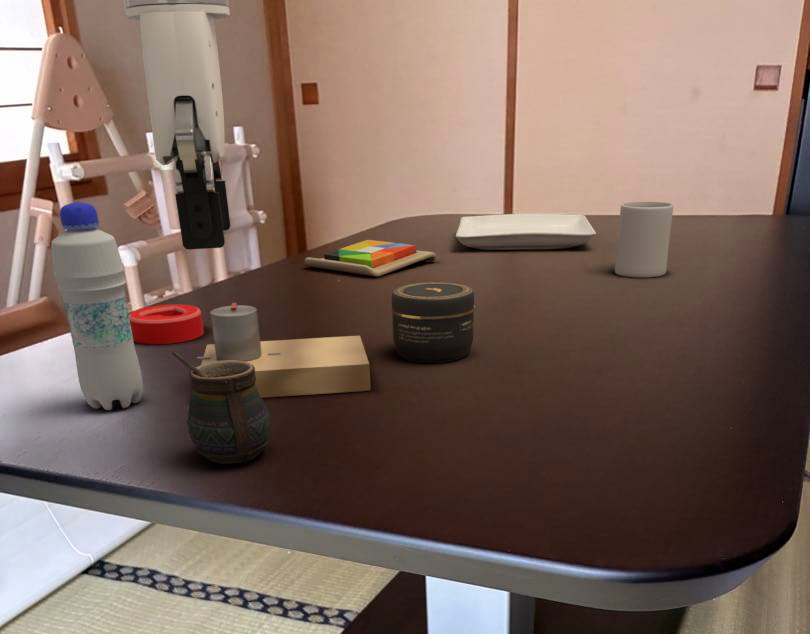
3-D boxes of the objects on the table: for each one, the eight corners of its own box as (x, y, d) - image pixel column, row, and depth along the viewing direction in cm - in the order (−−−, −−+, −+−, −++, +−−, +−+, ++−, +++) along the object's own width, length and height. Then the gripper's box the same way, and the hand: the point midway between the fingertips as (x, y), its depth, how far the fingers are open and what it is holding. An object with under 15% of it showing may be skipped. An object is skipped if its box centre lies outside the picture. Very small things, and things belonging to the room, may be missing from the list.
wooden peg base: (196, 402, 89) (191, 373, 87) (205, 369, 99) (201, 343, 98) (370, 390, 91) (369, 362, 89) (361, 360, 101) (360, 334, 100)
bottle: (128, 389, 93) (92, 196, 84) (159, 402, 89) (124, 200, 80) (71, 404, 89) (26, 203, 80) (101, 418, 85) (56, 208, 75)
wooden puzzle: (302, 269, 155) (300, 249, 153) (371, 254, 167) (370, 235, 166) (371, 279, 145) (370, 258, 143) (439, 262, 157) (439, 242, 156)
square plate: (460, 232, 189) (461, 214, 188) (583, 231, 187) (584, 212, 185) (455, 253, 166) (455, 232, 164) (595, 251, 163) (597, 230, 161)
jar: (418, 339, 109) (417, 278, 105) (487, 347, 104) (489, 285, 101) (377, 358, 101) (374, 294, 98) (450, 369, 97) (450, 302, 93)
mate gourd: (287, 459, 74) (276, 348, 69) (204, 479, 71) (187, 363, 66) (256, 435, 80) (244, 330, 75) (178, 452, 76) (160, 343, 72)
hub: (261, 360, 91) (256, 311, 89) (214, 363, 91) (208, 314, 88) (262, 348, 95) (257, 301, 93) (217, 351, 95) (211, 303, 92)
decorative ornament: (203, 324, 119) (200, 301, 118) (204, 340, 111) (201, 316, 110) (133, 329, 118) (129, 306, 116) (129, 346, 109) (125, 322, 108)
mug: (668, 277, 139) (677, 207, 134) (616, 277, 140) (622, 207, 135) (660, 264, 150) (667, 198, 144) (611, 264, 151) (617, 199, 146)
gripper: (139, 7, 69) (173, 227, 77) (102, -19, 54) (149, 259, 62) (232, 4, 70) (256, 223, 78) (221, -21, 54) (252, 253, 62)
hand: (208, 238), depth 70 cm, fingers open, 9 cm apart
